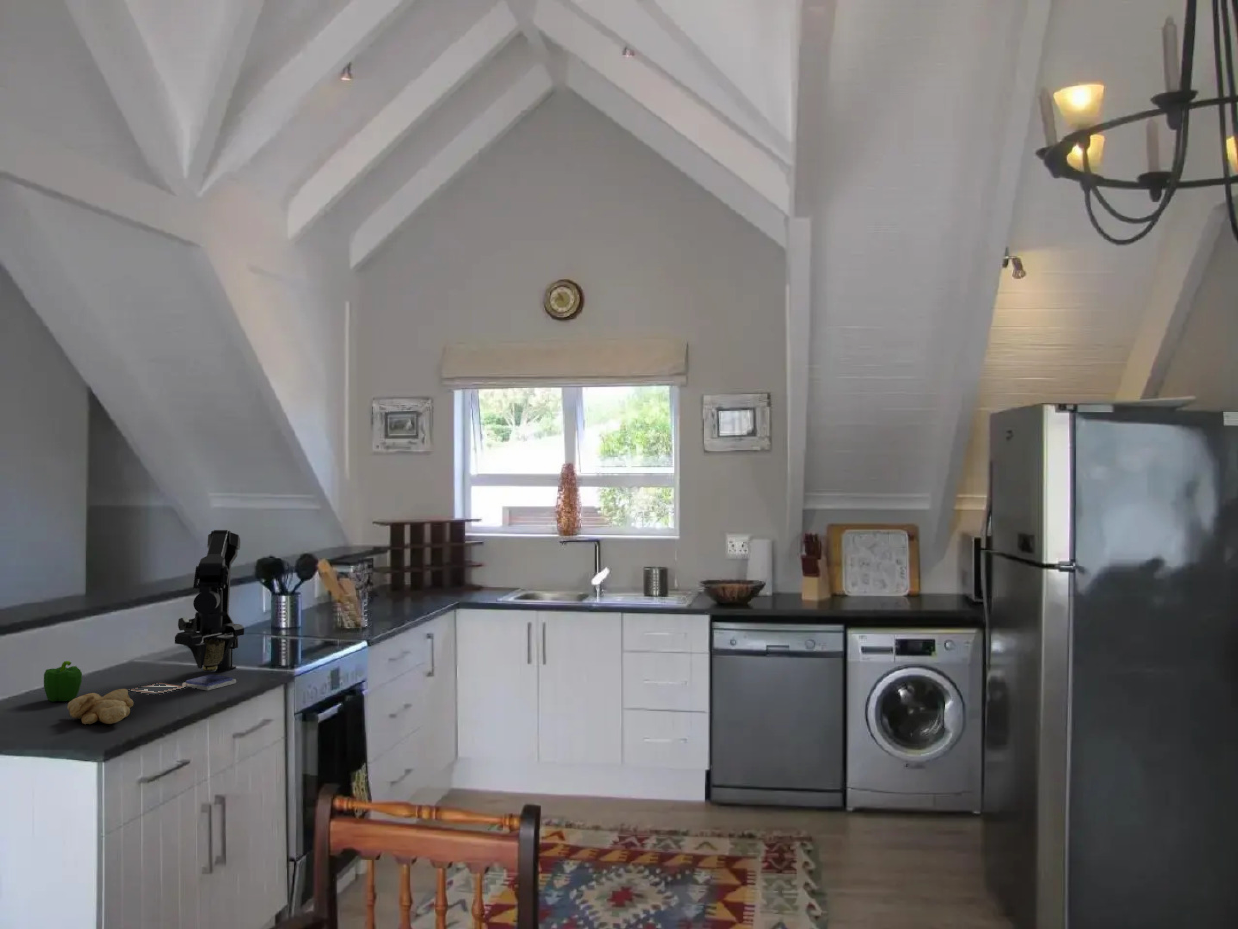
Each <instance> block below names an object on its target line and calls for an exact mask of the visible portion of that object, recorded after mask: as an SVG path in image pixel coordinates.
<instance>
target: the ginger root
mask: <svg viewBox="0 0 1238 929" xmlns="http://www.w3.org/2000/svg"><path fill="white" fill-rule="evenodd" d="M128 690H129V689H126V688H119V689H114V690H112V691H110V692H108V693H106V694H105V695H103V696H102V695H100V694H98V693H95V692H91V693H89V692H88V693H86V694H82V695H79V696H78V697H77V696H76V698H75V699H73V700H70V701H68V703H67V706H66V708H67V710H68V712H69V715H70V717H71V718H73V719H81V723H82V724H84V725H86V724H89V725H92V724H94V723H96V722H100V723H103V724H106V725H111V724H115V723H118V722H120V721H122V720H123V719H124V718H127V717H128V716H129V715H130V713H131V709H130V708H132V707H133V706H134V701H133V699H131V698H130V697H131V696H130V695H129V691H128Z"/></svg>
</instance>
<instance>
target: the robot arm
mask: <svg viewBox="0 0 1238 929" xmlns="http://www.w3.org/2000/svg"><path fill="white" fill-rule="evenodd" d="M210 532H211V533H209V534H208V535H207V545H206V547H207V549H208V551H207V554H206V556H204V557H202V558H201V559H200V560H199V563H198V565H196V567H195V572H194V579H193V586H192V588H193V590H199V592H198V594H197V595H196V596H195V598H194V599H193V604H192V605H193V608H194V610H195V611H196V612H195V614H194V618H190V619H189V617H187V616H186V617H185V616H184V617H180V618H178V621H177V627H178V630H179V631H182V632H177V633H176V634H175V636H174V644H175V645H183V646H185V647H187V648H188V649H189V650H190V651H191V654H192V656H193V658H194V660H195V664H196V667H197V668H198V669H202V668H203V663H204V658H205V652H206V647H207V644H205V640H208V641H209V640H211V639H213V640H215V641H217V639H218V641H219V642H220V641H221V640H222V641H223V640H224V641H225V646H224V654H223V658H222V661H221V662H220V663H219V664H217V670H216V671H213V672H215V673H221V672H225V671H230V670H234V669H237V666H236V665H235V666H234V665H233V650H235V649H238V648H239V636H244V635H245V628H244V625H243V624H239V623H234V621H233V619H232V617H231V616H230V614H229V611H230V592H231V591H230V590H231V575H232V564H233V563H234V561H235V560H236V559H237V557H238V550H240V549H241V537H240V535H239V534H237V533H234V532H232V531H231V530H228V529H214V530H212V531H210Z"/></svg>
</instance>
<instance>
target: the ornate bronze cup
mask: <svg viewBox="0 0 1238 929" xmlns="http://www.w3.org/2000/svg"><path fill="white" fill-rule="evenodd" d="M205 644H207V647H206V652H205V658H204V663H203V667H202V668H201V669H202V671H203V672H206V673H212V672H214V671H216V670H217V664H219V663H220V662H221V661H222V658H223V654H224V646H225V641H224V640H223V641H222V640H221V641H220V642H219V641H218V639H217V641H215V640H213V639H211V640H209V641H208V640H205Z"/></svg>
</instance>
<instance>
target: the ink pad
mask: <svg viewBox="0 0 1238 929" xmlns="http://www.w3.org/2000/svg"><path fill="white" fill-rule="evenodd" d="M234 684H237V679H235V678H233V677H232V676H226V675H225V676H224V675H218V674H212V673H211V674H207V675H203V676H198V677H194V678H191V679H187V680H185V682H184V681H183V682H182V686H184V687H186V688H188V687H192V688H191V689H195V688H197V690H203V691H211V690H215V689H220V688H223V687H227V686H230V685H234Z"/></svg>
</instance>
